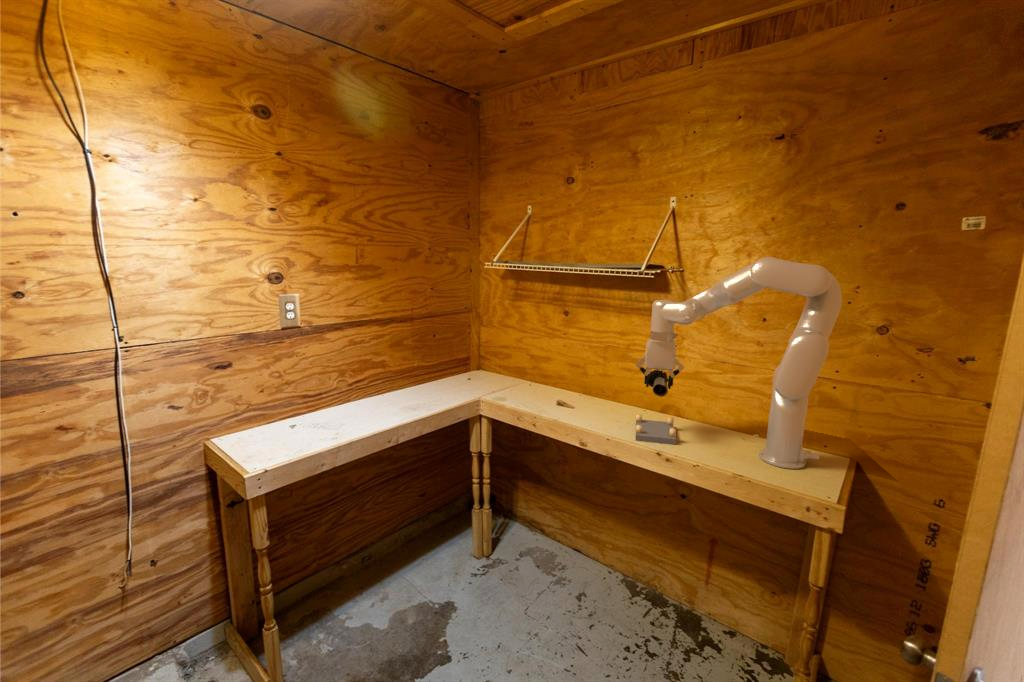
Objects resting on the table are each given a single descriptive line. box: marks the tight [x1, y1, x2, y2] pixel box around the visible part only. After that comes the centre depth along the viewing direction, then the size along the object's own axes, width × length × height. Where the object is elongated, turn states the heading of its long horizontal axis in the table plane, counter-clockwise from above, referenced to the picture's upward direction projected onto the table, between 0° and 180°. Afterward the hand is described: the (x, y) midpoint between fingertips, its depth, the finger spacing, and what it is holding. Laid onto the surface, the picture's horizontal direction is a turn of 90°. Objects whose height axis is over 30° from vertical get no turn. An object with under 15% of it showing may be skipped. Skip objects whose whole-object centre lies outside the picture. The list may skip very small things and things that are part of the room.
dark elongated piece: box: [648, 369, 669, 398], centre depth 159 cm, size 18×7×6 cm, turn 161°
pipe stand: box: [635, 413, 677, 446], centre depth 162 cm, size 13×16×4 cm
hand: (658, 386), depth 159 cm, fingers closed on dark elongated piece, 6 cm apart
